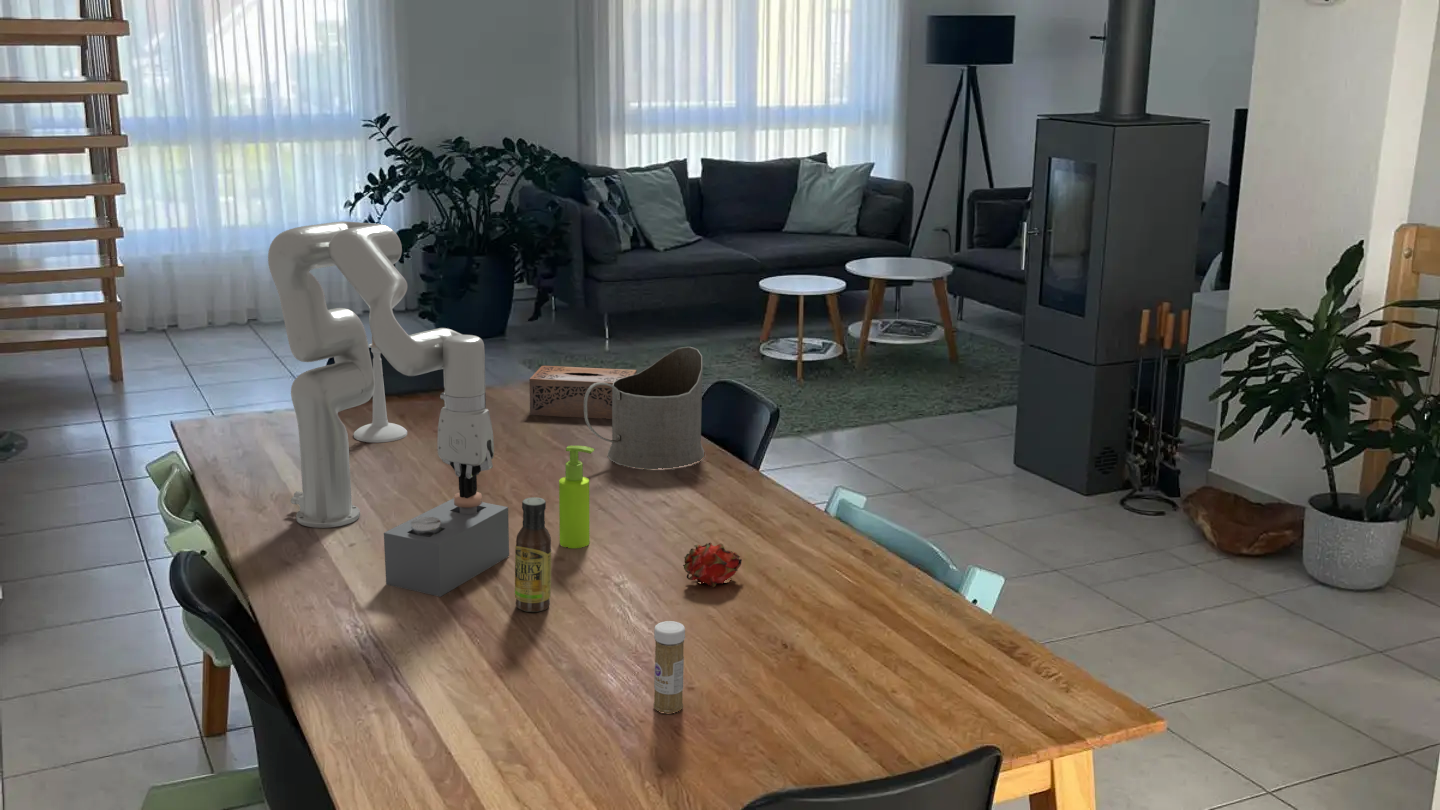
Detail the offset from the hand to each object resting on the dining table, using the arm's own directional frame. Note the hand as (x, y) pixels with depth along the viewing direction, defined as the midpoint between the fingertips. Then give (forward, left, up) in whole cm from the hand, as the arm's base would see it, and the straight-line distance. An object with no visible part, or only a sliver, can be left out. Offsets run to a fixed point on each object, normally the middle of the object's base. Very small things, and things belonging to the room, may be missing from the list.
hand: (468, 495), depth 260 cm
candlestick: (-66, +57, -13) cm, 88 cm away
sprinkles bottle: (+61, -35, -13) cm, 72 cm away
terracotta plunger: (0, 0, -7) cm, 8 cm away
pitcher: (-1, +72, -13) cm, 73 cm away
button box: (0, -6, -13) cm, 14 cm away
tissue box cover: (-34, +101, -13) cm, 107 cm away
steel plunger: (0, -13, -9) cm, 16 cm away
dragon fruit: (+46, +12, -13) cm, 49 cm away
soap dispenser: (+14, +17, -13) cm, 25 cm away
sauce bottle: (+23, -13, -13) cm, 30 cm away
